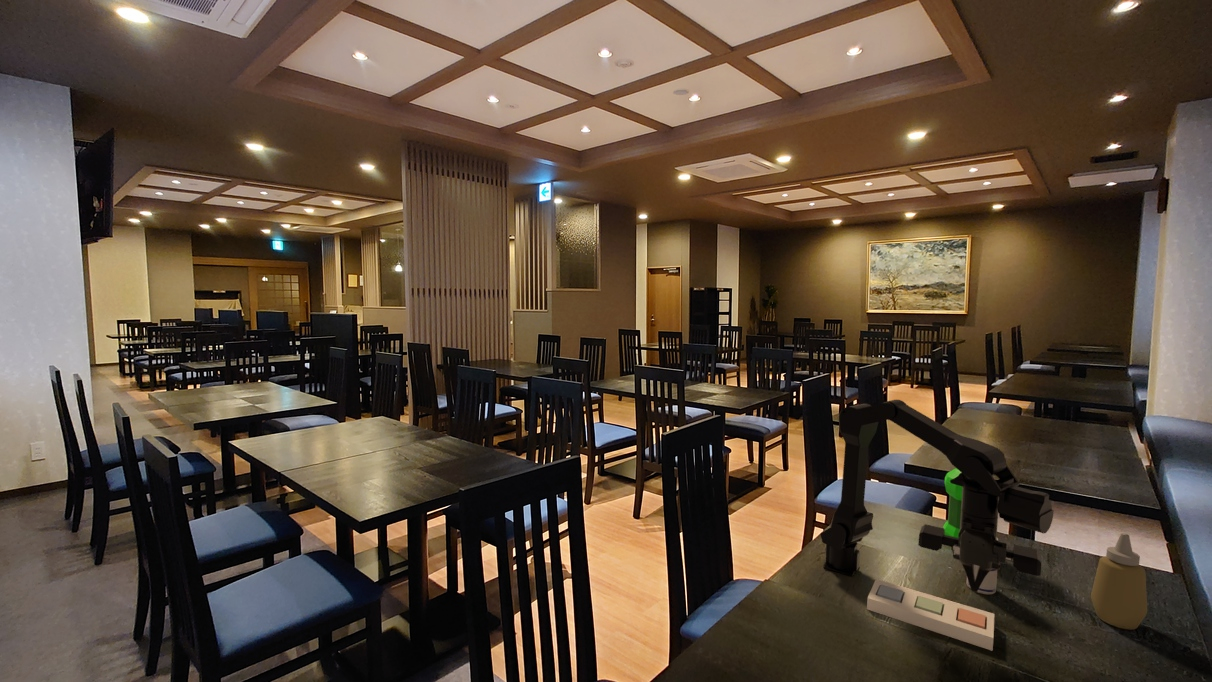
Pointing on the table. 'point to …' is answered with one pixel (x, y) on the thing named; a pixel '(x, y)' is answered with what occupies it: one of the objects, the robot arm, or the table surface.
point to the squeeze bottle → (1120, 586)
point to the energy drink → (986, 581)
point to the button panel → (933, 615)
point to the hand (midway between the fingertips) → (974, 590)
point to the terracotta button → (971, 618)
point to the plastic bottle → (953, 504)
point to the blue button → (890, 593)
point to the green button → (929, 605)
